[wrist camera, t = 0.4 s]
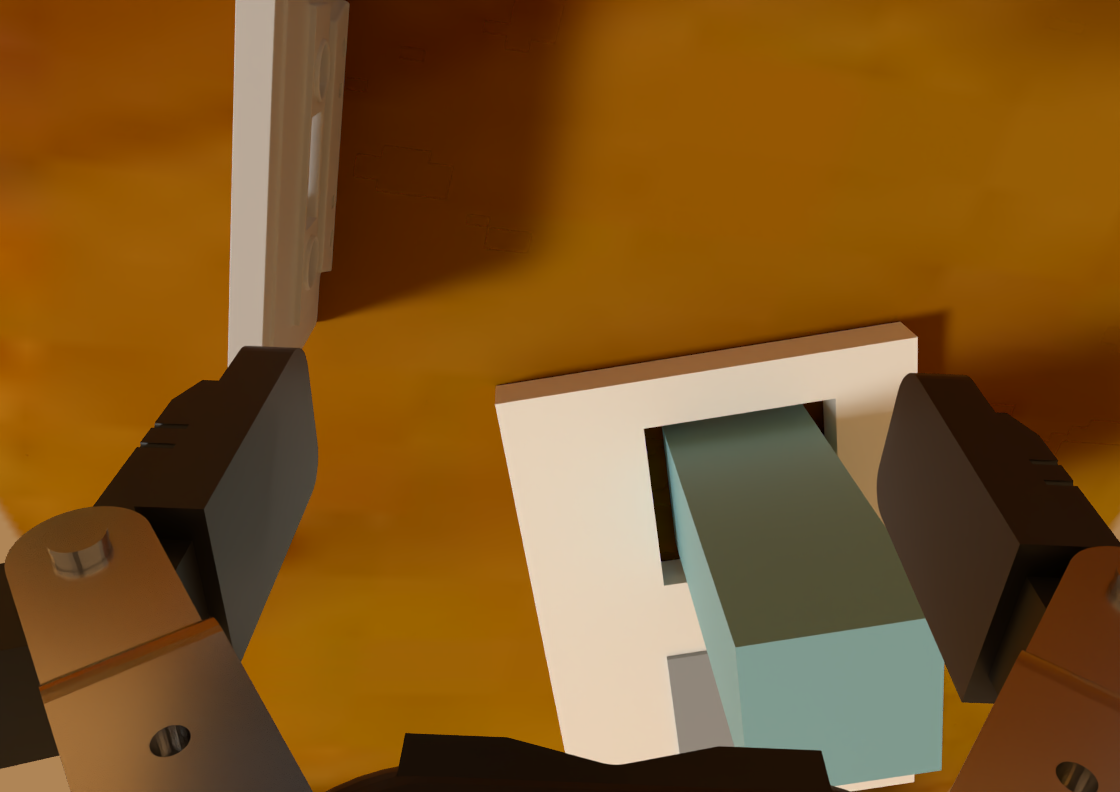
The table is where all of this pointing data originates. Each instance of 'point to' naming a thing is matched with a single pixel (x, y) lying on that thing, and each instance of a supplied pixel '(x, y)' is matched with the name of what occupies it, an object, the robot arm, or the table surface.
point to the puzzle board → (630, 527)
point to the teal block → (802, 598)
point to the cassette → (284, 165)
